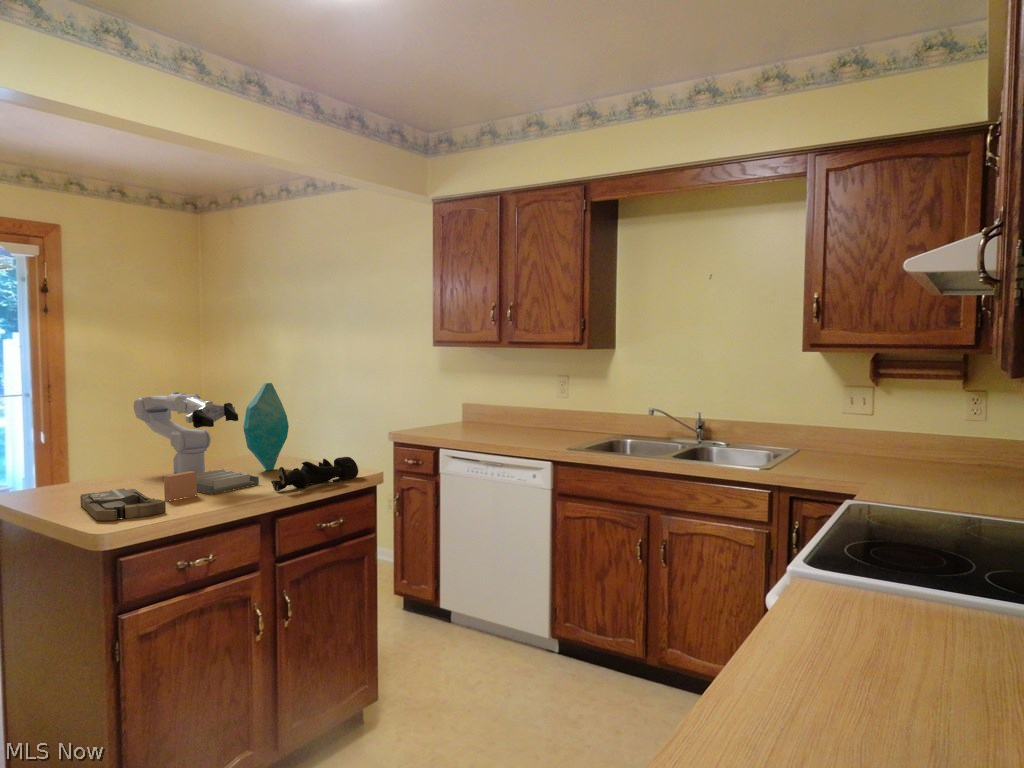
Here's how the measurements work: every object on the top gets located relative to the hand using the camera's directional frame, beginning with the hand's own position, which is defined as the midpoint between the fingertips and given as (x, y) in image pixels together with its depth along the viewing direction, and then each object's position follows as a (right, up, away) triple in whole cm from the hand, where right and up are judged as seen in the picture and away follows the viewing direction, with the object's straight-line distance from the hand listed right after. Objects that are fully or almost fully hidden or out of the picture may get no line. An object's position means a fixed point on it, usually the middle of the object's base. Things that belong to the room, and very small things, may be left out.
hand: (225, 420), depth 194 cm
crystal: (+2, -19, +30) cm, 35 cm away
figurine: (+25, -21, +9) cm, 34 cm away
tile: (-8, -21, -10) cm, 25 cm away
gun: (-17, -23, -23) cm, 36 cm away
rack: (-4, -20, +5) cm, 21 cm away
